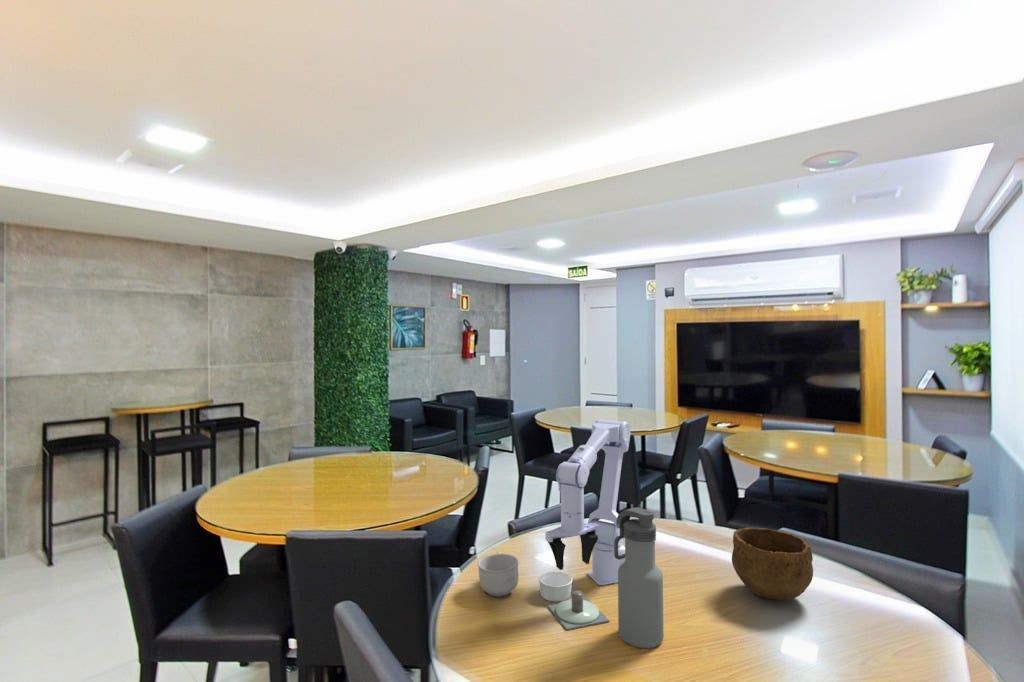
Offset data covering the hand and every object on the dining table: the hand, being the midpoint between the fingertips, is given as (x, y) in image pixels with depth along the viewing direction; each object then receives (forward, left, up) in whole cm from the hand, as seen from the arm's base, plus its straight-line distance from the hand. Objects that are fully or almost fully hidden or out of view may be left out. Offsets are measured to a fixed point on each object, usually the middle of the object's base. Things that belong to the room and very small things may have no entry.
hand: (572, 565), depth 123 cm
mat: (+1, +4, -10) cm, 11 cm away
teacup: (+15, -15, -11) cm, 24 cm away
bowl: (-51, +12, -11) cm, 54 cm away
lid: (+1, +3, -10) cm, 10 cm away
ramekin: (+2, -7, -11) cm, 13 cm away
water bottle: (-8, +17, -11) cm, 21 cm away
